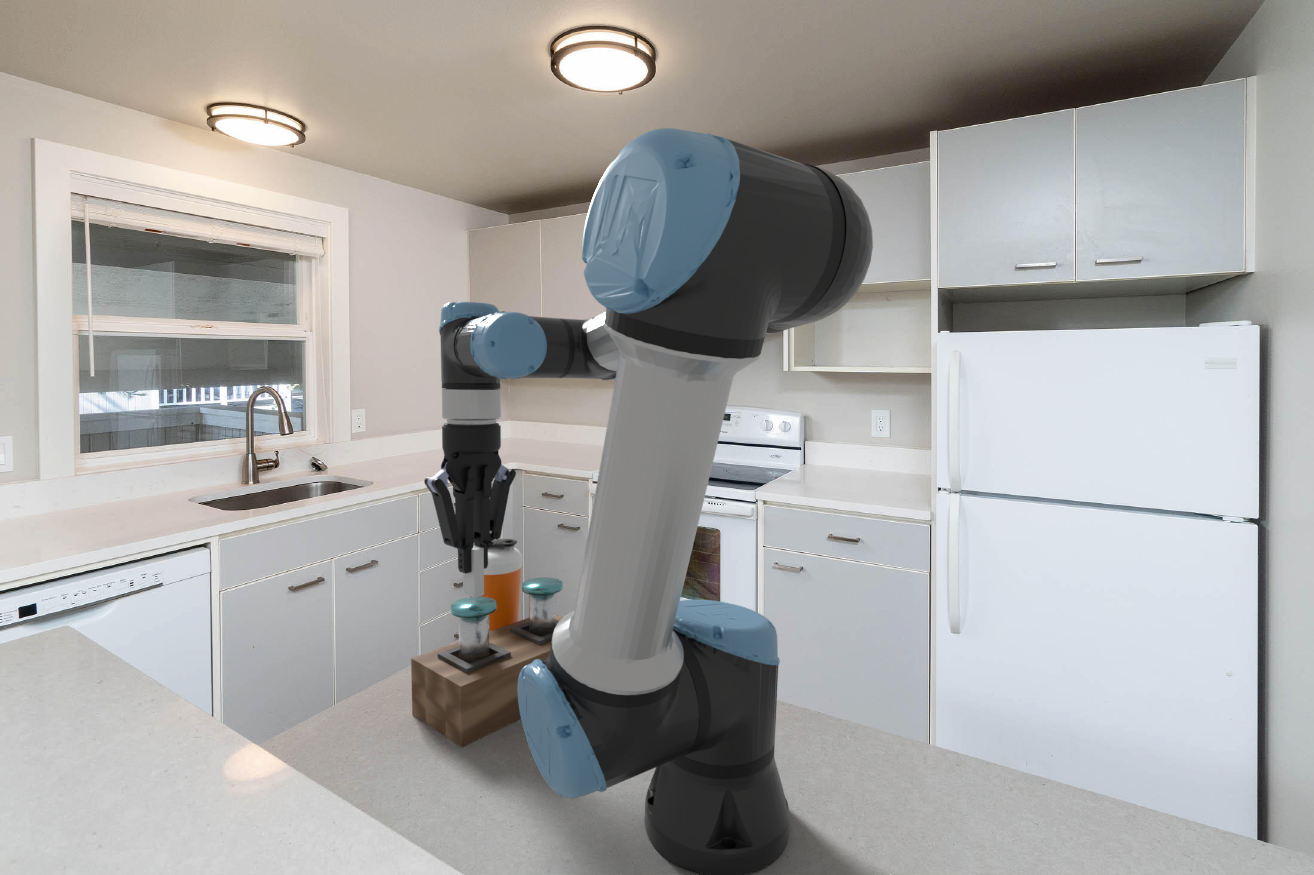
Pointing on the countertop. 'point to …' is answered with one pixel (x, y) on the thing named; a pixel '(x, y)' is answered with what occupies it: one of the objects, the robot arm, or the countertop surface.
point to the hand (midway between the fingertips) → (473, 593)
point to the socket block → (475, 683)
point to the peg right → (542, 604)
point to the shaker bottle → (503, 582)
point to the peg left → (473, 626)
